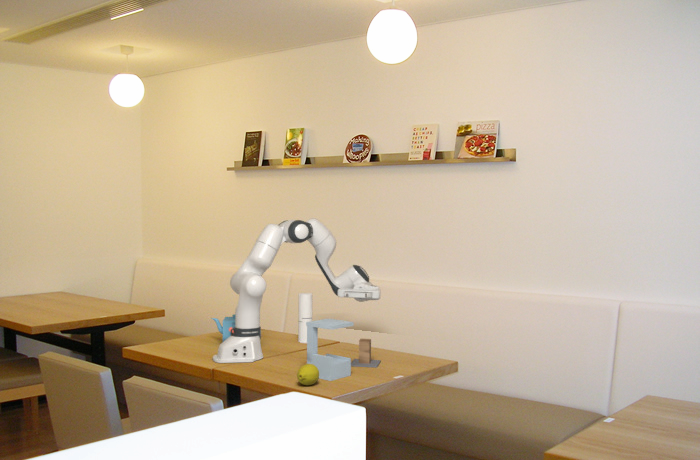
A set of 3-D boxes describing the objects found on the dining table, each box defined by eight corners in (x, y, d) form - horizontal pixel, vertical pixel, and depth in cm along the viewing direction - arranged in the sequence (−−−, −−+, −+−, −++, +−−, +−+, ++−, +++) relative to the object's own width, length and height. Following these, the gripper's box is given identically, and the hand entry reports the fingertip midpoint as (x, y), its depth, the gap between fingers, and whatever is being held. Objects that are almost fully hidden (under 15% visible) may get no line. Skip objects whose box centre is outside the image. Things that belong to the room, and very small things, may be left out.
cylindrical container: (310, 343, 319) (310, 294, 319) (296, 342, 321) (296, 294, 321) (313, 340, 326) (313, 293, 326) (300, 340, 328) (300, 292, 328)
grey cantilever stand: (328, 369, 262) (328, 318, 262) (353, 375, 253) (353, 322, 253) (306, 375, 252) (306, 322, 252) (331, 381, 243) (331, 325, 243)
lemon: (309, 380, 244) (309, 360, 244) (324, 384, 239) (324, 363, 239) (290, 386, 235) (290, 365, 235) (305, 389, 230) (305, 368, 230)
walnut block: (360, 361, 276) (361, 338, 276) (370, 361, 275) (371, 338, 275) (359, 363, 272) (359, 340, 272) (369, 363, 271) (369, 340, 271)
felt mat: (349, 366, 269) (349, 364, 269) (354, 360, 281) (354, 358, 281) (376, 367, 267) (376, 366, 267) (380, 361, 278) (380, 360, 278)
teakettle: (237, 338, 332) (237, 311, 332) (262, 342, 320) (262, 314, 320) (208, 344, 317) (208, 315, 317) (233, 348, 305) (233, 318, 305)
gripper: (340, 284, 302) (334, 287, 289) (382, 286, 298) (378, 289, 285) (340, 297, 302) (334, 301, 289) (382, 299, 298) (377, 303, 285)
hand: (356, 295), depth 287 cm, fingers open, 8 cm apart
